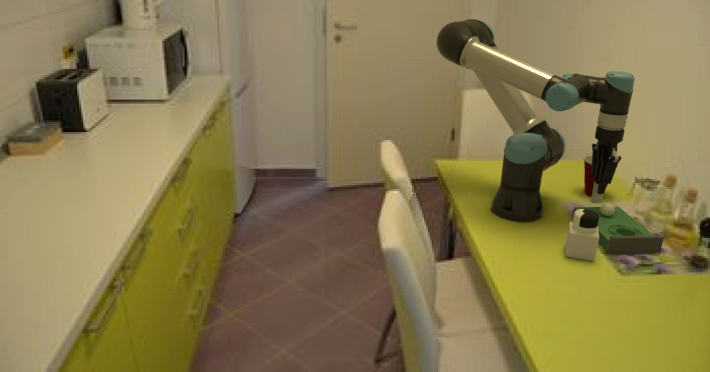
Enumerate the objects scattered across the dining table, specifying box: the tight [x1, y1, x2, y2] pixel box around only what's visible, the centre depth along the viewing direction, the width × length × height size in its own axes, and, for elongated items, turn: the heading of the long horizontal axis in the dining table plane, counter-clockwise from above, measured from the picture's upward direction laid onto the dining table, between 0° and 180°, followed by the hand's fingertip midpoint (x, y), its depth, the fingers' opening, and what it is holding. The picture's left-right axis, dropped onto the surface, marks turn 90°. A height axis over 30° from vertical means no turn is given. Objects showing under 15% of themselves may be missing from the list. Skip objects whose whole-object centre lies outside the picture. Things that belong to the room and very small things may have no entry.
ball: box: [599, 201, 616, 216], centre depth 167 cm, size 4×4×4 cm
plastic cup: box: [583, 154, 620, 197], centre depth 188 cm, size 11×11×12 cm
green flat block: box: [572, 206, 664, 254], centre depth 163 cm, size 14×23×4 cm, turn 4°
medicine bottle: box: [565, 209, 599, 262], centre depth 150 cm, size 7×7×12 cm
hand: (596, 202), depth 173 cm, fingers closed
